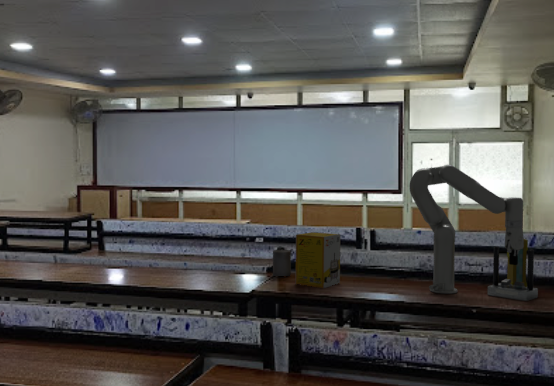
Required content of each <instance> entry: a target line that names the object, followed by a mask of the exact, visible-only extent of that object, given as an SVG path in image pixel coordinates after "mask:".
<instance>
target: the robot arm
mask: <svg viewBox="0 0 554 386" xmlns="http://www.w3.org/2000/svg"><path fill="white" fill-rule="evenodd" d="M442 184H447V185H448V186H450V187H451V188H453V189H454V190H456V191H458V192H459V193H461V194H462V195H464V196H465V197H467V198H468V199H471V200H472V201H474V202H475V203H477V204H478V205H480V206H482V207H483V208H485V209H486V210H488V211H490V213H493V214H496V215H499V214H503V213H504V221H505V222H504V223H505V224H504V228H505V234H504V235H505V236H504V248H505V249H506V250H507V251H506V253H507V252H508V253H509V264H510V265H517V264H518V252H519V251H520V249H523V247H524V239H525V238H524V230H523V229H524V200H523V198H522V197H502V196H498V195H497V194H495V193H494V192H492V191H491V190H489V189H487V188H486V187H485V186H483V185H482V184H481V183H479V181H477V180H476V179H474V178H472V176H469V175H468V174H466V173H465V172H463V171H462V170H461V169H459V168H457V167H456V166H454V165H453V164H444V165H441V166H435V167H427V168H425V167H424V168H419V169H416V171H415V172H414V173H413V175H412V176H411V179H410V182H409V192H410V196H411V197H412V199H413V202H414V203H415V205H416V207H417V208H418V210H419V212H420V214H421V216H422V218H423V220H424V222H426V223H427V224H428V226H429V227H430V229H431V230H432V232H433V270H432V271H433V273H432V275H433V276H432V277H433V281H432V284H431V285H429V286H428V288H429V291H430V292H432V293H435V294H445V295H446V294H448V295H451V294H452V295H453V294H457V293H458V289H457V288H455V249H456V248H455V247H456V246H455V245H456V243H455V241H456V229H455V228H454V226H453V224H452V222H451V221H450V219H449V217H448V215H447V214H446V212H445V211H444V210H443V208H442V207H441V206H440V205H438V203H437V202H436V201H435V199H434V197H433V195H432V193H431V192H430V190H429V186H432V185H433V186H435V185H442Z"/></svg>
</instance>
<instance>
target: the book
mask: <svg viewBox="0 0 554 386" xmlns="http://www.w3.org/2000/svg"><path fill="white" fill-rule="evenodd" d="M528 243H529V240H528V239H526V238H524V247H523V249H520V251H519V252H518V264H517V265H510V264H509V253H508V252H507V251H506V257H507V268H506V269H507V271H506V272H507V273H506V274H507V275H506V277H507V278H506V279H511V283H510V284H512V285H515V282H524V286H525V287H527V255H528V250H529V248H528V246H529V245H528Z"/></svg>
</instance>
